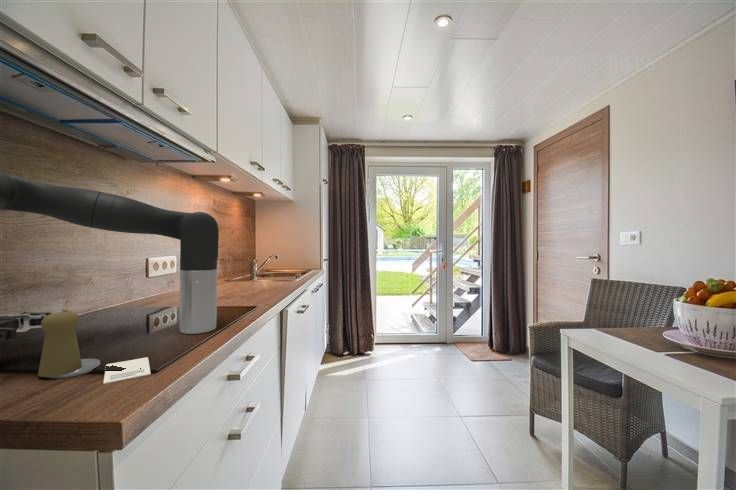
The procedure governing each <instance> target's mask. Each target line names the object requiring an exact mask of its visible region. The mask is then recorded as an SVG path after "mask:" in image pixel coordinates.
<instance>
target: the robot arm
mask: <svg viewBox="0 0 736 490" xmlns="http://www.w3.org/2000/svg"><path fill="white" fill-rule="evenodd" d="M0 211H13V212H20V213H21V212H23V213H30V214H38V215H43V216H47V217H50V218H54V219H58V220H60V221H63V222H67V223H70V224H73V225H76V226H81V227H84V228H90V229H97V230H101V231H109V232H116V233H123V234H124V233H126V234H138V235H139V234H144V235H157V236H163V237H168V238H171V239H175V240H179V241H180V244H179V245H180V248H179V249H180V251H179V252H180V254H179V332H180V333H182V334H187V335H192V334H193V335H194V334H195V335H196V334H197V335H198V334H204V333H209V332H211V331H214V330H216V329H217V316H218V315H217V314H218V313H217V311H218V310H217V307H218V305H217V304H218V303H217V302H218V297H217V293H218V260H219V233H220V232H219V231H220V230H219V225H218V222H217V220H216V219H215V218H214V217H213V216H212V215H210V214H208V213H206V212H203V211H195V212H185V211H184V212H183V211H176V210H169V209H165V208H161V207H157V206H154V205H151V204H148V203H146V202H142V201H139V200H137V199H134V198H129V197H125V196H123V195H117V194H113V193H110V192H109V193H108V192H103V191H98V190H91V189H87V188H80V187H70V186H61V185H52V184H48V183H42V182H39V181H35V180H31V179H28V178H24V177H20V176H18V175H17V176H16V175H14V174H13V175H12V174H10V173H6V172H4V171H0ZM50 314H53V313H52V312H40V311H39V312H33V311H32V312H31V311H29V312H28V311H23V312H20V314H10V313H5V314H0V342H12V341H15V340H17V333H22V332H27V331H29V330H30V329H38V328H40V329H42V327H41V322H42V320H43V318H44V317H45V316H47V315H50ZM21 325H22V326H23V327H20V326H21Z"/></svg>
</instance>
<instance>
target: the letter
mask: <svg viewBox="0 0 736 490" xmlns="http://www.w3.org/2000/svg"><path fill="white" fill-rule="evenodd" d="M112 365H113V366H117V367H122V368H126V369H124V370H122V371H105V370H104V377H103V382H102V384H103V385H106V384H110V383H115V382H119V381H120V382H121V381H125V380H129V379H136V378H140V377H146V376H150V375H152V374H151V367H150V361H149V357H141V358H135V359H131V360H129V359H128V360H124V361H117V362H113V363H106V365H105V367H106V366H109V367H110V366H112ZM140 368H141V369H140Z"/></svg>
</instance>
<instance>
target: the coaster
mask: <svg viewBox="0 0 736 490" xmlns="http://www.w3.org/2000/svg"><path fill="white" fill-rule="evenodd" d="M81 363H82V367H81V368H80V369H78V370H76V371H74V372H71V373H68V374H64V375H60V376H54V377H46V378H47V379H65V378H72V377H76V376H81V375H84V374H87V373H90V372H93V371H94V370H93V369H94V368H96V367H98V366H99V365H100V366H101V360H100V359H98V358H81ZM100 366H99V367H100ZM99 367H98V368H99ZM92 370H93V371H92Z"/></svg>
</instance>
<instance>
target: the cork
mask: <svg viewBox="0 0 736 490" xmlns="http://www.w3.org/2000/svg"><path fill="white" fill-rule="evenodd" d="M79 323H80V318H79V315H78V314H77V313H76V312H73V311H61V312H59V311H58V312H54V313H52V314H50V315H47V316H45V317H44V318H43V320H42V322H41V327H42V328H41V329H42V331H43V332H44V333H45V334H44V339H43V344H42V351H41V355H40V362H39V368H38V372H37V376H39V377H41V378H47V377H54V376H60V375H64V374H68V373H71V372H74V371H76V370H78V369H80V368H81V367H82V363H81V359H82V357H81V352H80V347H79V342H78V337H77V331H76V328H77V327H78V326H79Z"/></svg>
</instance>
